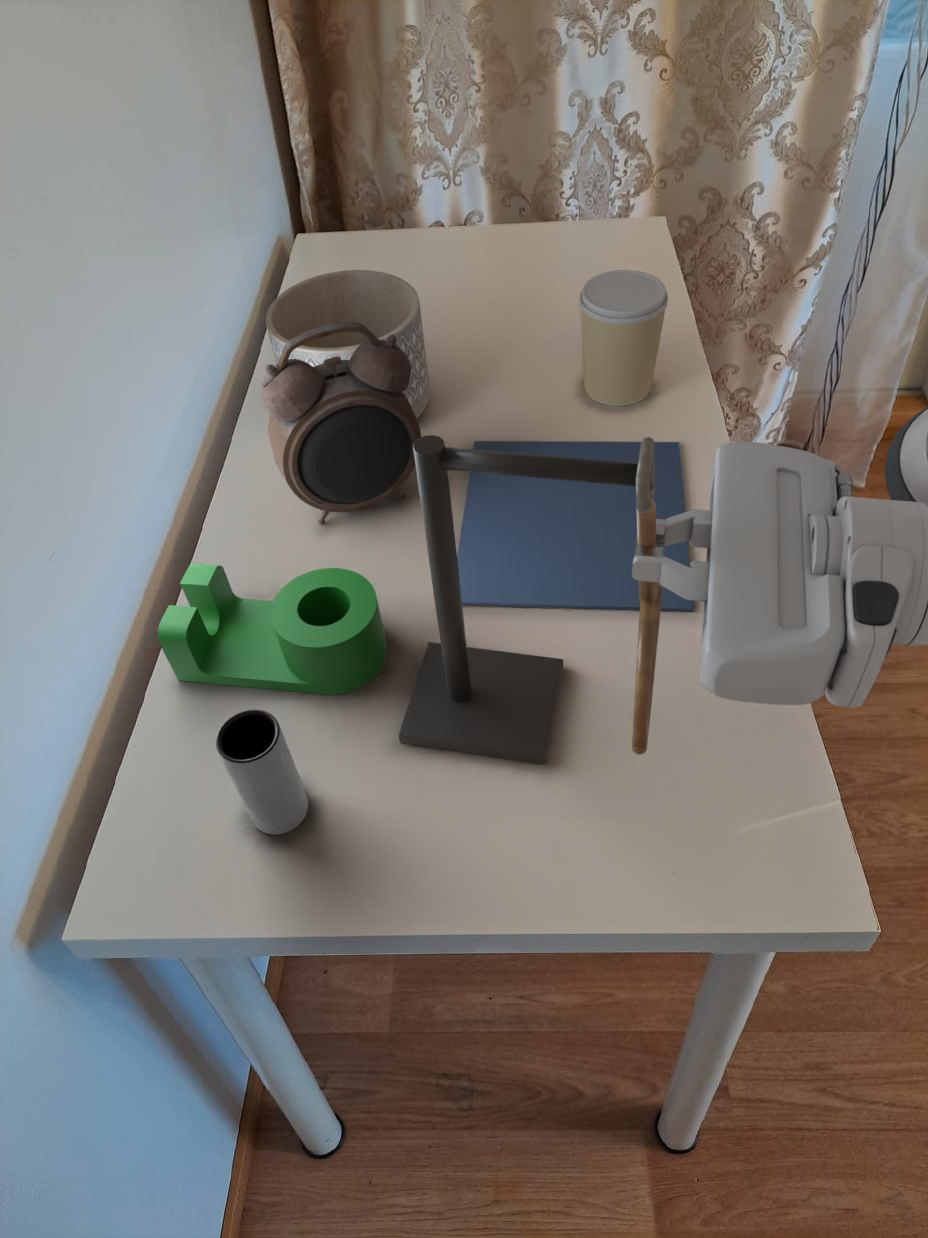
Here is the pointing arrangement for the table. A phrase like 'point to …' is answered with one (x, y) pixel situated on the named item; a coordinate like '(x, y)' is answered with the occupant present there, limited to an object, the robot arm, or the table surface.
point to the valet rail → (452, 672)
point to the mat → (562, 532)
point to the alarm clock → (342, 422)
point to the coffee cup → (621, 334)
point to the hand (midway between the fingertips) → (634, 548)
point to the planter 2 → (353, 299)
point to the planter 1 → (263, 770)
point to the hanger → (646, 598)
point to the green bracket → (277, 633)
